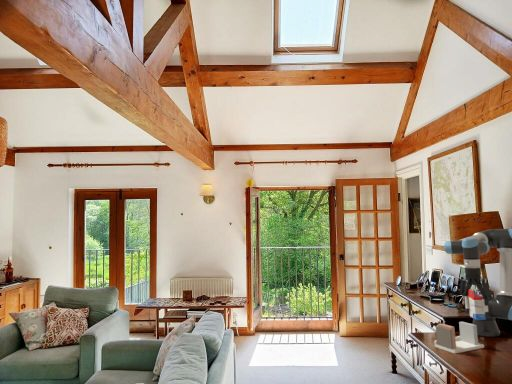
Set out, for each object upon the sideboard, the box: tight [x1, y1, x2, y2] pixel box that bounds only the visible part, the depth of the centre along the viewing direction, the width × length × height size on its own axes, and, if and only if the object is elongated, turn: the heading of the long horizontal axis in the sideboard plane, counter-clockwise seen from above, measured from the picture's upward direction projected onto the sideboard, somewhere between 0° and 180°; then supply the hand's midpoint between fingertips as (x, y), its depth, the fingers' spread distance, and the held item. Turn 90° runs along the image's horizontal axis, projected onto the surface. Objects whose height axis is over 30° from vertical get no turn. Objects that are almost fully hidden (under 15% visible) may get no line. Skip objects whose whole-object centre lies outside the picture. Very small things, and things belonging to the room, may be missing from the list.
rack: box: [434, 323, 485, 354], centre depth 203 cm, size 22×13×12 cm, turn 111°
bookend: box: [458, 321, 479, 345], centre depth 206 cm, size 2×9×10 cm, turn 21°
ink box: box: [467, 288, 486, 320], centre depth 197 cm, size 8×5×15 cm, turn 170°
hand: (476, 310), depth 196 cm, fingers closed on ink box, 9 cm apart
